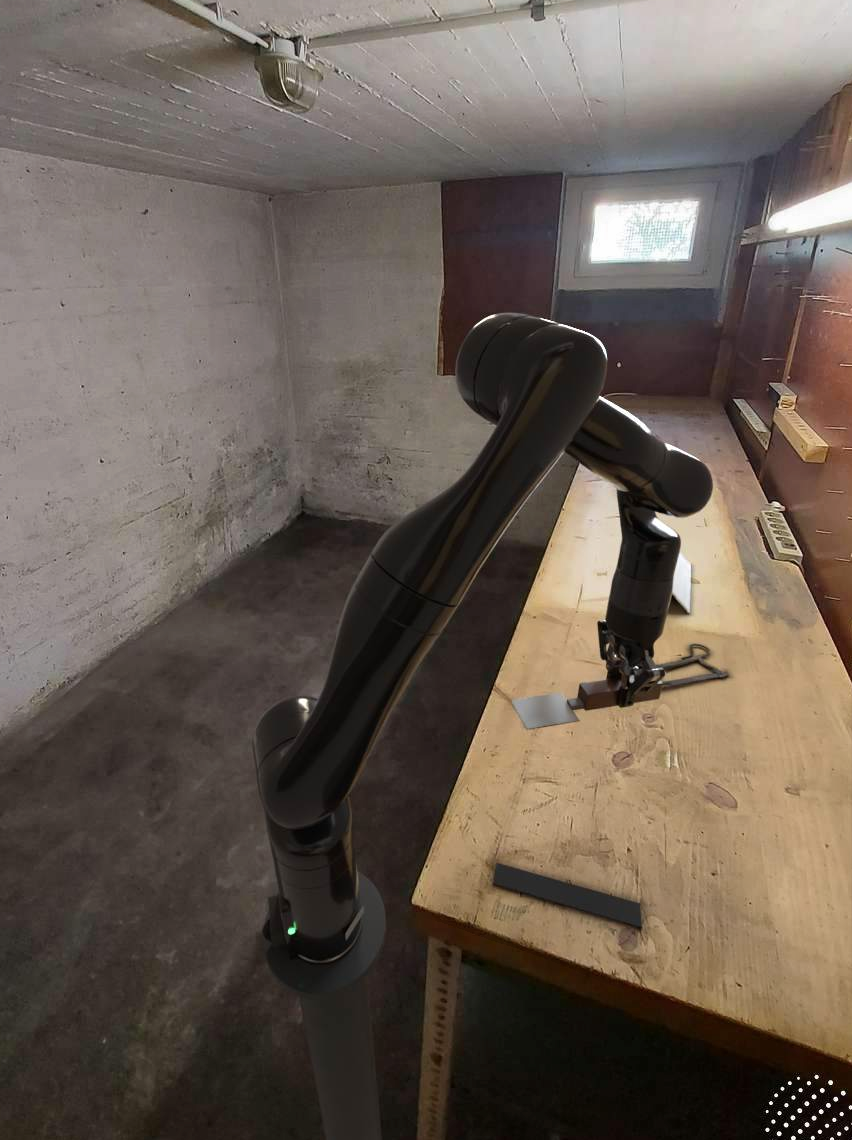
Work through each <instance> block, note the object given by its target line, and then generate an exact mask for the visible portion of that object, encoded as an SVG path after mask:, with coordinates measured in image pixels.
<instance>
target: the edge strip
mask: <svg viewBox="0 0 852 1140" xmlns="http://www.w3.org/2000/svg"><path fill="white" fill-rule="evenodd" d="M495 864H496V865H495V870H494V876H493V881H492V885H494V886H496V887H501V888H504V889H508V890H511V891H514V892H518V893H521V894H524V895H528V896H531V897H535V898H539V899H542V900H545V901H548V902H550V903H551V902H552V903H554V904H558V905H561V906H565V907H568V908H572V909H574V910H579V911H582V912H586V913H588V914H592V915H595V916H598V917H602V918H606V919H608V920H613V921H616V922H618V923H623V924H626V925H630V926H633V927H636V928H639V929H642V928H643V926H642V910H641V909H642V908H641V903H640V902H637V901H634V900H630V899H626V898H623V897H619V896H616V895H613V894H609V893H605V892H602V891H598V890H594V889H590V888H587V887H584V886H581V885H577V884H575V883H570V882H567V881H563V880H559V879H556V878H553V877H550V876H545V875H543V874H542V875H541V874H539V873H535V872H531V871H528V870H524V869H520V868H516V867H513V866H510V865H507V864H503V863H501V862H496V863H495Z"/></svg>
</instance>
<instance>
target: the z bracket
mask: <svg viewBox="0 0 852 1140" xmlns="http://www.w3.org/2000/svg"><path fill="white" fill-rule="evenodd" d="M691 572H692V565H691V563H690V562H689V561H688V560H687V558H686V557H685V555H683V553H682V552H680V553H679V557H678V561H677V566H676V570H675V574H674V580H673V591H672V596H673V598H675V600H677V602H678V603H679V604H680V606H682V608H683V609H684V610H685V611H686V612H687V614H690V613H691V578H692V577H691Z"/></svg>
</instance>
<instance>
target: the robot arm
mask: <svg viewBox="0 0 852 1140" xmlns="http://www.w3.org/2000/svg"><path fill="white" fill-rule="evenodd" d="M454 369H455V370H454V372H455V373H454V374H455V383H456V387H457V391H458V393H459V394H460V396H461V398H462V400H463V401H464V403H465V404H466V405H467V406H468V408H469V409H470V410H471V411H473V412H474V413H475V414H476V415H478V416H479V417H480V418H482V419H484V420H485V421H487V422H489V423H491V424H493V425H495V428H494V429H493V431H492V433H491V434H490V436H489V438H488V440H487V441H486V443H485V444H484V445H483V447H482V448H481V450H480V452H479V453H478V455H477V456H476V458H475V459H474V460H473V462H472V464H470V466H468V469H467V470H466V471H465V472H464V473H463V474H462V475H461V476H460V477H459V479H458V480H457V481H455V482H454V483H452V485H450V486H449V487H448V488H446V489H445V490H444V491H442V492H441V493H438V495H436V496H435V497H433V498H432V499H430V500H429V501H426V502H425V503H422V504H421V505H420V506H419V507H417V508H415V509H413V510H412V511H410V512H409V513H408V514H406V515H405V516H403V517H402V518H400V519H399V520H397V521H396V522H395V523H394V524H392V525H391V526H390V527H389V528H388V529H387V530H386V531H385V532H384V533H383V534H382V535H381V536H380V538H379V539H378V541H377V542H376V544H375V545H374V547H373V548H372V550H371V552H370V553H369V556H368V558H367V559H366V561H365V562H364V564H363V566H362V568H361V570H360V571H359V573H358V575H357V576H356V578H355V580H354V582H353V584H352V585H351V588H350V590H349V592H348V594H347V597H346V599H345V602H344V605H343V608H342V611H341V615H340V619H339V622H338V627H337V631H336V634H335V638H334V643H333V646H332V652H331V656H330V661H329V665H328V669H327V672H326V677H325V680H324V684H323V686H322V690H321V691H320V694H319V697H318V698H316V697H312V696H307V695H295V696H290V697H287V698H284V699H282V700H280V701H278V702H276V703H275V704H272V706H270V707H269V708H268V709H267V710H266V711H265V712H264V713H263V714H262V715H261V716H260V718H259V720H258V721H257V723H256V725H255V728H254V730H253V735H252V742H251V743H252V753H253V760H254V761H253V762H254V769H255V776H256V783H257V789H258V794H259V798H260V801H261V803H262V808H263V813H264V820H265V825H266V831H267V836H268V837H267V838H268V841H269V846H270V851H271V857H272V863H273V867H274V872H275V877H276V882H277V888H278V893H279V895H277V894H276V895H272V896H268V910H269V917H270V919H268V921H267V922H266V924H265V925H264V924H263V927H262V933H261V934H262V937H263V936H264V937H265V939H267V940H268V941H270V942H272V945H273V948H274V947H277V946H281V945H285V944H286V945H287V950H288V955H289V959H290V960H293V959H298V958H299V959H301V960H302V961H304V962H306V963H309V964H313V965H327V964H331V963H334V962H336V961H338V960H340V959H341V958H343V957H344V956H345V955H347V954H348V953H349V952H350V951H351V950H352V948H353V947H354V946H355V944H356V943H357V941H358V939H359V936H360V933H361V930H362V924H363V916H362V914H363V913H364V908H363V906H362V908H361V902H360V891H359V880H358V872H359V869H358V860H357V857H358V856H357V846H356V835H355V825H354V824H355V823H354V815H353V805H352V802H351V797H350V795H351V793H352V791H354V788H355V786H356V784H357V783H358V781H359V778H360V776H361V774H362V772H363V770H364V768H365V766H366V764H367V762H368V760H369V758H370V756H371V753H372V751H373V750H374V748H375V745H376V743H377V741H378V740H379V737H380V735H381V733H382V731H383V728H384V727H385V725H386V724H387V721H388V720H389V718H390V716H391V714H392V713H393V711H394V709H395V707H396V706H397V704H398V702H399V701H400V699H401V698H402V696H403V695H404V693H405V691H406V689H407V688H408V686H409V685H410V682H411V681H412V679H413V678H414V676H415V674H416V672H417V671H418V669H419V667H420V666H421V664H422V663H423V661H424V659H425V658H426V656H427V654H428V653H429V651H430V650H431V649H432V647H433V646H434V644H435V643H436V642H437V640H438V638H439V637H440V636H441V634H442V632H443V631H444V629H445V628H446V626H447V625H448V624H449V621H450V620H451V618H452V617H453V616H454V614H455V612H456V611H457V609H458V607H459V606H460V604H461V602H462V601H463V599H464V597H465V595H466V594H467V592H468V590H469V589H470V586H471V585H472V583H473V581H474V579H475V578H476V577H477V575H478V573H479V572H480V570H481V568H482V567H483V565H485V563H486V561H487V559H488V558H489V556H490V554H491V553H492V552H493V550H494V548H495V547H496V545H497V544H498V542H499V541H500V539H501V538H502V537H503V535H504V534H505V532H506V531H507V529H508V528H509V526H510V525H511V523H512V522H513V520H514V519H515V517H516V516H517V514H518V513H519V511H520V510H521V509H522V508H523V506H524V505H525V503H526V502H527V501H528V499H529V498H530V497H531V495H532V494H533V493H534V491H535V490H536V489H537V488H538V487H539V485H540V484H541V483H542V481H543V480H544V479H545V477H546V476H547V475H548V474H549V472H550V471H551V470H552V468H553V467H555V464H557V462H558V460H559V459H560V458H561V457H562V456H563V454H567V455H568V457H571V458H572V459H573V460H575V461H576V462H577V463H579V464H580V465H581V466H583V467H584V468H585V469H587V470H588V471H590V472H591V473H593V474H594V475H595V476H597V477H598V478H599V479H601V480H603V481H604V482H606V483H607V484H609V485H610V486H612V487H613V488H615V489H616V499H617V507H618V514H619V525H620V526H619V527H620V533H621V534H620V535H621V542H620V546H619V551H618V556H617V564H616V566H615V567H616V568H615V570H614V573H613V576H612V579H611V584H610V591H609V595H608V600H607V605H606V611H605V616H604V619H603V620H598V621H597V622H596V623H597V625H596V626H597V635H598V636H597V637H598V646H599V656H600V657H599V658H600V659H601V661H605V669H606V671H607V672H606V677H605V680H607V679H614V678H621V677H622V679H621V685H620V688H619V693H618V698H617V705H618V706H617V707H619V708H620V709H623V708H629V707H633V706H634V705H635V703H634V700H635V696H636V693H642V692H649V691H650V690H651V689H652V688H653V687H654V686H655V685H656V684H657V683H658V682H659V681H661V680H662V679H664V677H665V676H666V671H665V668H664V669H663V668H657V667H656V665H657V664H656V663H655V661H654V657H655V647H654V646H655V643H656V642H657V641H658V639H660V638H661V636H662V635H663V633H664V631H665V630H664V629H665V626H666V621H667V618H668V617H667V616H668V613H669V607H670V604H671V601H672V596H673V595H672V591H673V580H674V574H675V570H676V566H677V561H678V557H679V553H681V547H682V538H681V536H680V534H679V533H678V532H677V531H676V530H675V529H673V528H672V527H670V526H669V525H668V524H666V523H665V522H664V521H662V520H661V519H660V518H659V517H658V516H657V513H658V514H661V515H665V516H667V517H671V518H675V519H686V518H690V517H693V516H695V515H696V514H699V513H700V512H701V511H702V510H704V509H705V507H706V506H707V505H708V503H709V502H710V500H711V498H712V495H713V491H714V490H713V489H714V481H713V480H714V479H713V475H712V473H711V471H710V469H709V468H708V466H707V465H706V464H705V463H704V462H703V461H702V460H700V459H699V458H698V457H695V456H694V455H692V454H690V453H688V452H686V451H684V450H682V449H680V448H677V447H676V446H673V445H671V444H668V443H667V442H665V441H663V440H662V439H661V438H660V437H659V435H657V434H656V433H655V432H654V431H653V430H652V429H651V428H649V427H648V426H647V425H646V424H645V423H644V422H642V420H640V419H639V418H637V417H636V416H634V414H631V413H630V412H629V411H626V409H623V408H621V407H620V406H618V405H616V404H614V403H613V402H611V401H609V400H608V399H606V398H604V397H603V396H601V394H602V393H603V389H604V386H605V383H606V380H607V375H608V356H607V351H606V349H605V347H604V345H603V343H602V342H601V341H600V340H599V339H598V338H597V337H595V336H594V335H592V334H590V333H588V332H585V331H583V330H580V329H577V328H574V327H571V326H568V325H565V324H562V323H558V322H555V321H551V320H548V319H544V318H542V317H538V316H535V315H531V314H527V313H524V312H509V311H507V312H504V311H503V312H499V313H495V314H492V315H489V316H487V317H485V318H483V319H481V320H480V321H479V322H477V323H476V324H475V325H474V326H473V327H472V328H471V330H469V332H468V333H467V335H466V337H465V338H464V339H463V341H462V342H461V345H460V347H459V350H458V353H457V356H456V360H455V368H454ZM607 645H608V647H607ZM633 675H634V679H630V676H633ZM269 930H270V931H269Z"/></svg>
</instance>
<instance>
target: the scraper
mask: <svg viewBox="0 0 852 1140" xmlns="http://www.w3.org/2000/svg"><path fill="white" fill-rule="evenodd" d="M621 679H622V677H621V678H614V679H607V680H606V679H601V680H593V681H587V682H580V683H579V684H578V690H577V696H576V697H573V698H567V699H566V698H565V697H564V695H563V694H562V693H561V692H555V693H554V692H553V693H548V694H542V695H535V696H529V697H522V698H516V699H510V700H509V702H510V704H511V705H512V707H513V708H514V711H515V712H516V714H517V716H518V718H519V719H520V721H521V723H522V724H523V727H524V728H525V730H526V731H530V730H536V729H542V728H547V727H554V726H559V725H565V724H572V723H578V722H580V719H579V717H578V716H577V715H576V713H575V712H574V711H578V710H584V711H585V712H587V711H593V710H600V709H605V708H611V707H619V706H618V705H617V698H618V693H619V688H620V685H621ZM630 679H634V675H632V676H630ZM662 682H663V681H661V680H660V681H659V682H658V683H657V684H656V685H655V686H654V687H653V688H652V689H651V690H650V691H649V692H642V693H636V696H635V700H634V704H636V703H637V704H638V703H644V702H648V701H649V702H650V701H655V700H660V697H661V693H662V690H663V687H664V686H663V683H662Z"/></svg>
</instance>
